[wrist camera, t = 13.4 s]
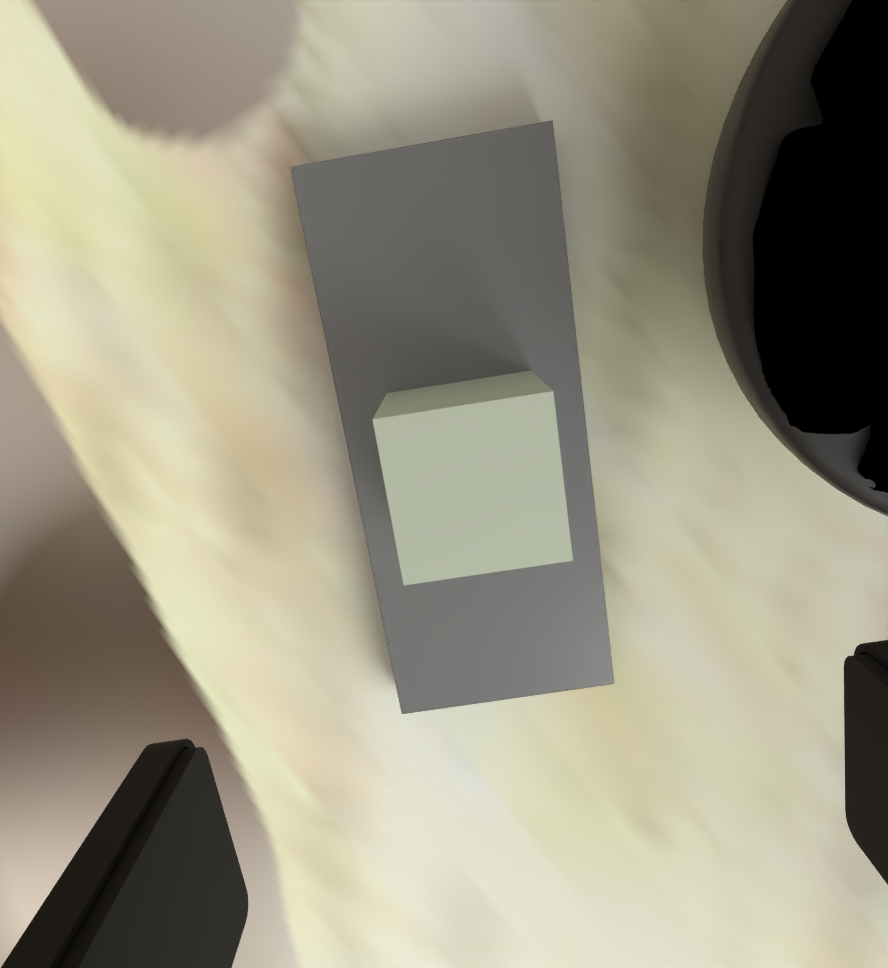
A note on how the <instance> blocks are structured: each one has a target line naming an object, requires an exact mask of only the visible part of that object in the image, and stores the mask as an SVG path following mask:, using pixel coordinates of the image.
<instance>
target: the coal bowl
mask: <svg viewBox="0 0 888 968" xmlns="http://www.w3.org/2000/svg"><path fill="white" fill-rule="evenodd" d="M703 263H704V277H705V285H706V291H707V297H708V303H709V309H710V313H711V317H712V320H713V324H714V327H715V331H716V335H717V338H718V341H719V343H720V346H721V348H722V351H723V353H724V356H725V358H726V361H727V363H728V365H729V367H730V369H731V371H732V373H733V375H734V377H735V379H736V381H737V383H738V385H739V386H740V388H741V390H742V392H743V393H744V395H745V396H746V398H747V399H748V401H749V402H750V404H751V405H752V407H753V408H754V410H755V411H756V413H757V414H758V416H759V417H760V418H761V420H762V421H763V422H764V423H765V424H766V426H767V427H768V428H769V429H770V430H771V432H772V433H773V434H774V435H775V436H776V438H777V439H778V440H779V441H780V442H781V443H782V444H783V445H784V446H785V447H786V448H787V449H788V450H789V451H791V452H792V453H793V454H794V455H795V456H796V457H797V458H798V459H799V460H800V461H801V462H802V463H803V464H804V465H806V466H807V467H808V468H809V469H811V470H812V471H813V472H815V473H816V474H817V475H819V476H820V477H821V478H823V479H824V480H825V481H826V482H828V483H829V484H830V485H832V486H833V487H835V488H836V489H838V490H839V491H841V492H842V493H844V494H846V495H847V496H849V497H851V498H852V499H854V500H856V501H858V502H859V503H861V504H863V505H864V506H866V507H869V508H871V509H873V510H875V511H877V512H880V513H882V514H884V515H886V516H888V0H787V1H786V3H785V4H784V6H783V8H782V9H781V11H780V12H779V14H778V15H777V17H776V18H775V20H774V22H773V23H772V25H771V27H770V28H769V30H768V32H767V33H766V35H765V37H764V38H763V40H762V41H761V43H760V45H759V46H758V48H757V50H756V52H755V54H754V56H753V58H752V60H751V62H750V64H749V66H748V68H747V70H746V72H745V74H744V76H743V78H742V80H741V83H740V85H739V87H738V90H737V92H736V94H735V97H734V99H733V102H732V104H731V107H730V109H729V112H728V115H727V117H726V120H725V122H724V125H723V128H722V131H721V135H720V138H719V141H718V145H717V148H716V151H715V155H714V158H713V163H712V168H711V173H710V178H709V182H708V187H707V195H706V203H705V212H704V220H703Z"/></svg>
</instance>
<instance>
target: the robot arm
mask: <svg viewBox="0 0 888 968" xmlns="http://www.w3.org/2000/svg"><path fill="white" fill-rule="evenodd" d="M844 720H845V811H846V819H847V823H848V826H849V829H850V831H851V833H852V835H853V838H854V839H855V841H856V842H857V844H858V845H859V847H860V848H861V849H862V851H863V852H864V853H865V855H866V856H867V857H868V859H869V860H870V861H871V863H872V864H873V865H874V867H875V868H876V869H877V871H878V872H879V873H880V875H881V876H882V877H883V879H884V880H885V882H886V883H887V884H888V640H885V641H878V642H871V643H864V644H860V645H858V646H857V647H856V649H855V652H854V656H848V657H847V658H846V660H845V662H844ZM247 913H248V894H247V890H246V886H245V883H244V879H243V876H242V872H241V869H240V865H239V862H238V858H237V855H236V852H235V848H234V844H233V841H232V838H231V834H230V831H229V827H228V824H227V821H226V817H225V814H224V810H223V807H222V803H221V800H220V796H219V793H218V790H217V786H216V783H215V780H214V776H213V773H212V769H211V765H210V762H209V758H208V755H207V753H206V751H205V750H204V748H202V747H198V748H195V746H194V744H193V743H192V741H191V740H188V739H182V740H175V741H168V742H161V743H154V744H150V745H148V746H147V747H146V748H145V749H144V750H143V752H142V753H141V755H140V756H139V758H138V759H137V761H136V762H135V764H134V765H133V767H132V768H131V770H130V771H129V773H128V774H127V776H126V778H125V779H124V781H123V782H122V784H121V785H120V787H119V788H118V790H117V791H116V793H115V794H114V796H113V797H112V799H111V801H110V802H109V804H108V805H107V807H106V808H105V810H104V811H103V813H102V814H101V816H100V817H99V819H98V820H97V822H96V823H95V825H94V827H93V828H92V829H91V831H90V833H89V834H88V836H87V837H86V839H85V840H84V842H83V843H82V845H81V846H80V848H79V849H78V851H77V852H76V854H75V855H74V857H73V858H72V860H71V862H70V863H69V865H68V866H67V868H66V869H65V871H64V872H63V874H62V875H61V877H60V879H59V880H58V882H57V883H56V884H55V886H54V888H53V889H52V891H51V892H50V894H49V895H48V897H47V898H46V900H45V901H44V903H43V904H42V906H41V907H40V909H39V910H38V912H37V914H36V915H35V917H34V918H33V920H32V921H31V923H30V924H29V926H28V927H27V929H26V930H25V932H24V933H23V935H22V936H21V938H20V939H19V941H18V943H17V944H16V946H15V947H14V949H13V950H12V952H11V953H10V955H9V956H8V958H7V959H6V961H5V962H4V964H3V965H2V967H1V968H231V967H232V964H233V960H234V958H235V954H236V951H237V948H238V945H239V942H240V939H241V935H242V932H243V929H244V926H245V923H246V919H247Z"/></svg>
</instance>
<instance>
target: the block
mask: <svg viewBox="0 0 888 968" xmlns="http://www.w3.org/2000/svg"><path fill="white" fill-rule="evenodd" d="M373 425H374V430H375V435H376V441H377V446H378V451H379V457H380V462H381V467H382V473H383V478H384V483H385V489H386V494H387V499H388V505H389V510H390V515H391V521H392V526H393V531H394V537H395V542H396V547H397V553H398V558H399V563H400V569H401V574H402V579H403V585H411V584H417V583H424V582H431V581H438V580H445V579H452V578H458V577H465V576H472V575H479V574H486V573H492V572H499V571H506V570H513V569H520V568H527V567H533V566H540V565H547V564H554V563H561V562H567V561H573V556H572V547H571V539H570V530H569V522H568V513H567V504H566V496H565V487H564V479H563V470H562V462H561V453H560V444H559V436H558V427H557V419H556V410H555V402H554V393H553V390H552V389H551V388H549V387H548V386H547V385H546V384H545V383H544V382H543V381H542V380H541V379H540V378H539V377H538V376H537V375H536V374H535V373H533V372H532V371H524V372H518V373H512V374H505V375H499V376H493V377H486V378H480V379H474V380H468V381H461V382H455V383H449V384H442V385H436V386H430V387H423V388H417V389H411V390H404V391H398V392H392V393H387V394H386V396H385V397H384V399H383V401H382V403H381V405H380V407H379V408H378V410H377V412H376V414H375V416H374V418H373Z"/></svg>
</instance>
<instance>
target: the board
mask: <svg viewBox="0 0 888 968" xmlns="http://www.w3.org/2000/svg"><path fill="white" fill-rule="evenodd" d="M291 172H292V177H293V182H294V187H295V192H296V197H297V202H298V206H299V211H300V216H301V221H302V226H303V231H304V236H305V241H306V246H307V251H308V256H309V260H310V265H311V270H312V275H313V280H314V285H315V290H316V295H317V300H318V305H319V310H320V314H321V319H322V324H323V329H324V334H325V339H326V344H327V349H328V354H329V359H330V364H331V368H332V373H333V378H334V383H335V388H336V393H337V398H338V403H339V408H340V413H341V418H342V422H343V427H344V432H345V437H346V442H347V447H348V452H349V457H350V462H351V467H352V472H353V477H354V481H355V486H356V491H357V496H358V501H359V506H360V511H361V516H362V521H363V526H364V531H365V535H366V540H367V545H368V550H369V555H370V560H371V565H372V570H373V575H374V580H375V585H376V589H377V594H378V599H379V604H380V609H381V614H382V619H383V624H384V629H385V634H386V639H387V643H388V648H389V653H390V658H391V663H392V668H393V673H394V678H395V683H396V688H397V693H398V697H399V702H400V707H401V712H402V714H406V713H413V712H420V711H427V710H434V709H441V708H448V707H455V706H462V705H469V704H476V703H483V702H490V701H497V700H504V699H511V698H518V697H525V696H532V695H539V694H546V693H553V692H560V691H567V690H574V689H581V688H588V687H595V686H602V685H609V684H614V676H613V667H612V658H611V649H610V640H609V631H608V622H607V613H606V604H605V594H604V585H603V576H602V567H601V558H600V549H599V540H598V531H597V522H596V513H595V503H594V494H593V485H592V476H591V467H590V458H589V449H588V440H587V431H586V422H585V413H584V403H583V394H582V385H581V376H580V367H579V358H578V349H577V340H576V331H575V322H574V312H573V303H572V294H571V285H570V276H569V267H568V258H567V249H566V240H565V231H564V221H563V212H562V203H561V194H560V185H559V176H558V167H557V158H556V149H555V140H554V130H553V121H547V122H542V123H536V124H531V125H525V126H519V127H514V128H508V129H502V130H497V131H491V132H486V133H480V134H474V135H469V136H463V137H457V138H452V139H446V140H440V141H435V142H429V143H424V144H418V145H412V146H407V147H401V148H395V149H390V150H384V151H379V152H373V153H367V154H362V155H356V156H350V157H345V158H339V159H333V160H328V161H322V162H317V163H311V164H305V165H300V166H294V167H291ZM524 371H532V372H533V373H535V374H536V375H537V376H538V377H539V378H540V379H541V380H542V381H543V382H544V383H545V384H546V385H547V386H548V387H549V388H551V389H552V390H553V393H554V402H555V410H556V419H557V427H558V436H559V444H560V453H561V462H562V470H563V479H564V487H565V496H566V504H567V513H568V522H569V530H570V539H571V547H572V556H573V561H567V562H561V563H554V564H547V565H540V566H533V567H527V568H520V569H513V570H506V571H499V572H492V573H486V574H479V575H472V576H465V577H458V578H452V579H445V580H438V581H431V582H424V583H417V584H411V585H403V579H402V574H401V569H400V563H399V558H398V553H397V547H396V542H395V537H394V531H393V526H392V521H391V515H390V510H389V505H388V499H387V494H386V489H385V483H384V478H383V473H382V467H381V462H380V457H379V451H378V446H377V441H376V435H375V430H374V425H373V418H374V416H375V414H376V412H377V410H378V408H379V407H380V405H381V403H382V401H383V399H384V397H385V396H386V394H387V393H392V392H398V391H404V390H411V389H417V388H423V387H430V386H436V385H442V384H449V383H455V382H461V381H468V380H474V379H480V378H486V377H493V376H499V375H505V374H512V373H518V372H524Z"/></svg>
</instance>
